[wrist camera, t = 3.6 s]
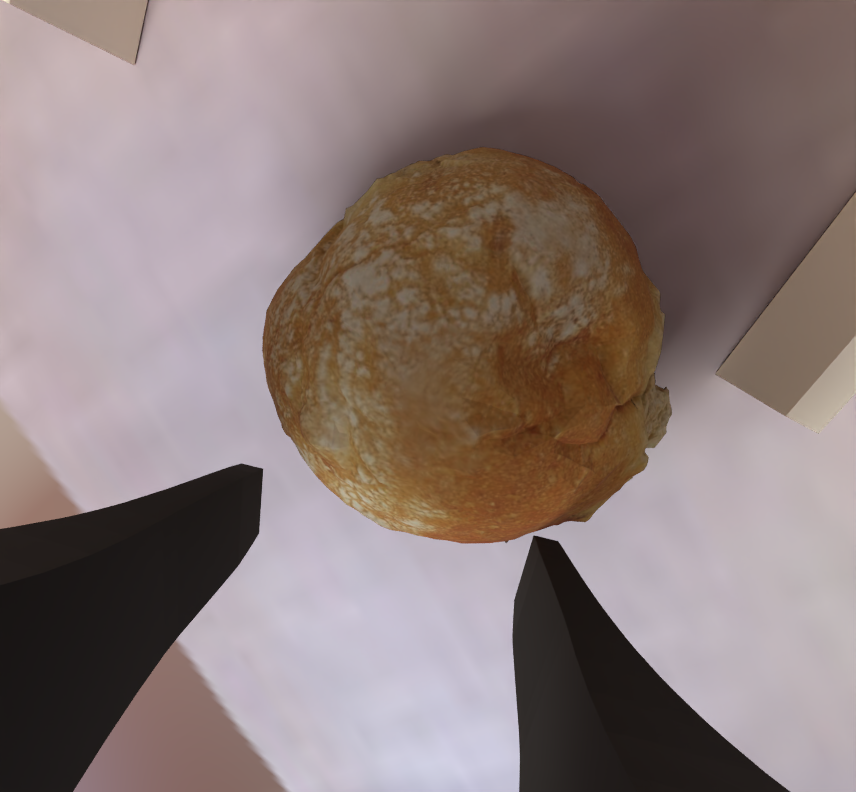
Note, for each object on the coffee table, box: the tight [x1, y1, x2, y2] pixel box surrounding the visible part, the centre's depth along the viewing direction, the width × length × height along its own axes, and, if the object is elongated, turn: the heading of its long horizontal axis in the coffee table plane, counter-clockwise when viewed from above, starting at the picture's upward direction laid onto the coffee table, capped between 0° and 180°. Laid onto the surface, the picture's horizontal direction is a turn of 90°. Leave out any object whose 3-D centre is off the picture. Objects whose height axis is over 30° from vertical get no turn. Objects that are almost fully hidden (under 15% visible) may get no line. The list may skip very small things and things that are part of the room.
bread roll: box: [262, 147, 672, 543], centre depth 12 cm, size 10×10×8 cm
